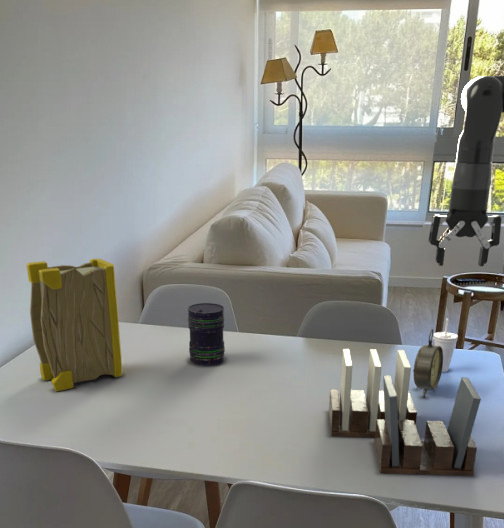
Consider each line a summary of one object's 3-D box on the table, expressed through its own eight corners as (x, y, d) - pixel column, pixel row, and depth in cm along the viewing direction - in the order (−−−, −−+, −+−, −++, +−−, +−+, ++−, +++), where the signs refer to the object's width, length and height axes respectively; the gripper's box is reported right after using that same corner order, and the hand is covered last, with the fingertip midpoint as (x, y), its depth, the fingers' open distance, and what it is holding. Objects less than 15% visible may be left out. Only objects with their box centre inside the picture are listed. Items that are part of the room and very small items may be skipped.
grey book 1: (392, 441, 149) (390, 375, 142) (399, 466, 139) (397, 396, 132) (385, 442, 149) (383, 375, 142) (392, 466, 139) (389, 396, 132)
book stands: (445, 415, 164) (448, 391, 161) (473, 476, 138) (477, 448, 135) (328, 412, 165) (330, 388, 162) (334, 471, 139) (336, 444, 136)
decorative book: (109, 364, 193) (99, 253, 180) (126, 376, 185) (117, 261, 172) (37, 379, 183) (21, 263, 170) (52, 393, 175) (36, 272, 162)
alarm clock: (428, 400, 171) (436, 336, 164) (407, 396, 174) (413, 333, 167) (441, 386, 180) (449, 324, 173) (420, 382, 182) (427, 321, 175)
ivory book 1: (345, 410, 164) (349, 348, 157) (348, 430, 154) (352, 365, 147) (339, 410, 164) (342, 348, 157) (341, 430, 154) (345, 365, 147)
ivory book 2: (371, 411, 163) (376, 349, 157) (375, 431, 153) (381, 366, 147) (365, 411, 163) (370, 349, 157) (369, 431, 153) (374, 366, 147)
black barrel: (200, 352, 203) (198, 301, 196) (230, 357, 199) (230, 305, 193) (183, 363, 195) (180, 310, 188) (214, 368, 191) (213, 314, 184)
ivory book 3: (397, 411, 163) (403, 350, 156) (404, 432, 153) (411, 367, 146) (391, 411, 163) (397, 349, 156) (397, 432, 153) (404, 367, 147)
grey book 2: (450, 443, 148) (468, 377, 141) (461, 469, 138) (481, 399, 132) (443, 443, 148) (461, 376, 141) (453, 468, 138) (473, 398, 132)
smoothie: (453, 366, 193) (459, 316, 187) (453, 374, 187) (460, 323, 181) (429, 364, 194) (435, 315, 188) (429, 372, 189) (435, 321, 183)
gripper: (501, 184, 147) (489, 262, 154) (432, 183, 148) (424, 261, 155) (511, 188, 140) (498, 270, 147) (438, 187, 141) (429, 268, 148)
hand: (460, 265), depth 151 cm, fingers open, 8 cm apart
